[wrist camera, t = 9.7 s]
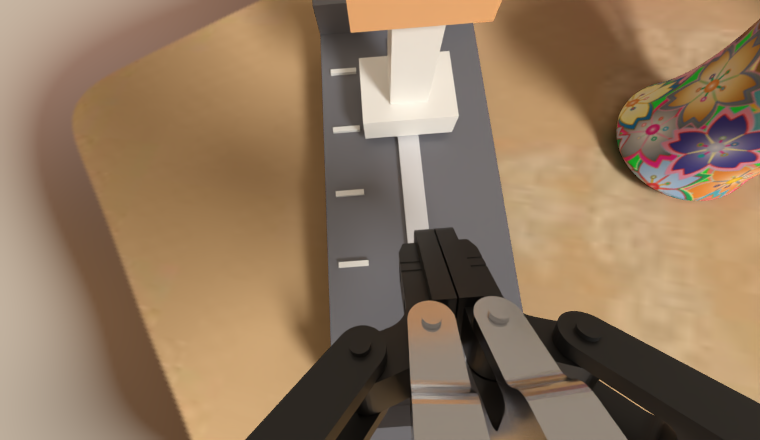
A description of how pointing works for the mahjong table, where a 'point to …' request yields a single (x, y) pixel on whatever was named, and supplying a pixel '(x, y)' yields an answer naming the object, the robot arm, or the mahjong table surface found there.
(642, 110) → the mug
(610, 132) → the mahjong table surface
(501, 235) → the fader console
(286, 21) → the mahjong table surface
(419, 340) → the robot arm
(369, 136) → the fader knob
